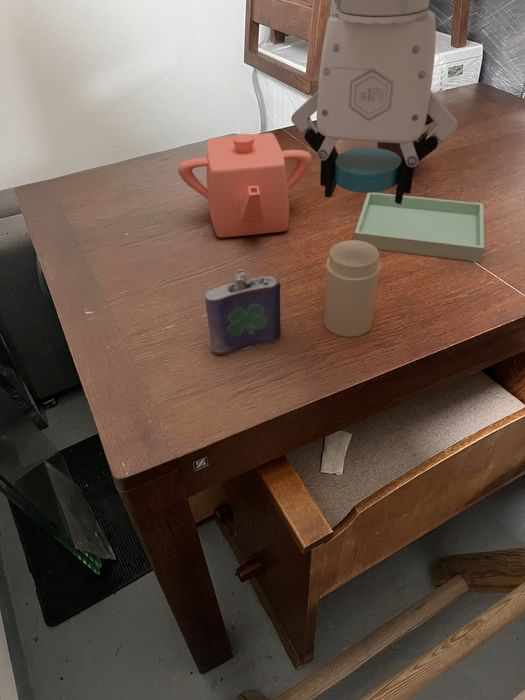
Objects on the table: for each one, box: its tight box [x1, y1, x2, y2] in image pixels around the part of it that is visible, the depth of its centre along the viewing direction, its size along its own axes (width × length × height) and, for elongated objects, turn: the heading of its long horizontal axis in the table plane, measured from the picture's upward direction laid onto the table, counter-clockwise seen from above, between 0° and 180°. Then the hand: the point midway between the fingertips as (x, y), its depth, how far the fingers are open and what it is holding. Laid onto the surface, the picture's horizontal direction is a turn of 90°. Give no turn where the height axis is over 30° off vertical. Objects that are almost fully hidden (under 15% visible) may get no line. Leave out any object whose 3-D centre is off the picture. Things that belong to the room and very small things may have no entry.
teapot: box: [177, 132, 312, 238], centre depth 82 cm, size 20×22×14 cm
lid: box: [334, 147, 401, 194], centre depth 53 cm, size 7×7×2 cm
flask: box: [204, 268, 282, 356], centre depth 61 cm, size 9×3×11 cm, turn 109°
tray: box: [353, 192, 485, 263], centre depth 82 cm, size 19×14×2 cm
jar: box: [322, 239, 382, 338], centre depth 64 cm, size 7×7×11 cm
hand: (364, 193), depth 54 cm, fingers closed on lid, 6 cm apart
